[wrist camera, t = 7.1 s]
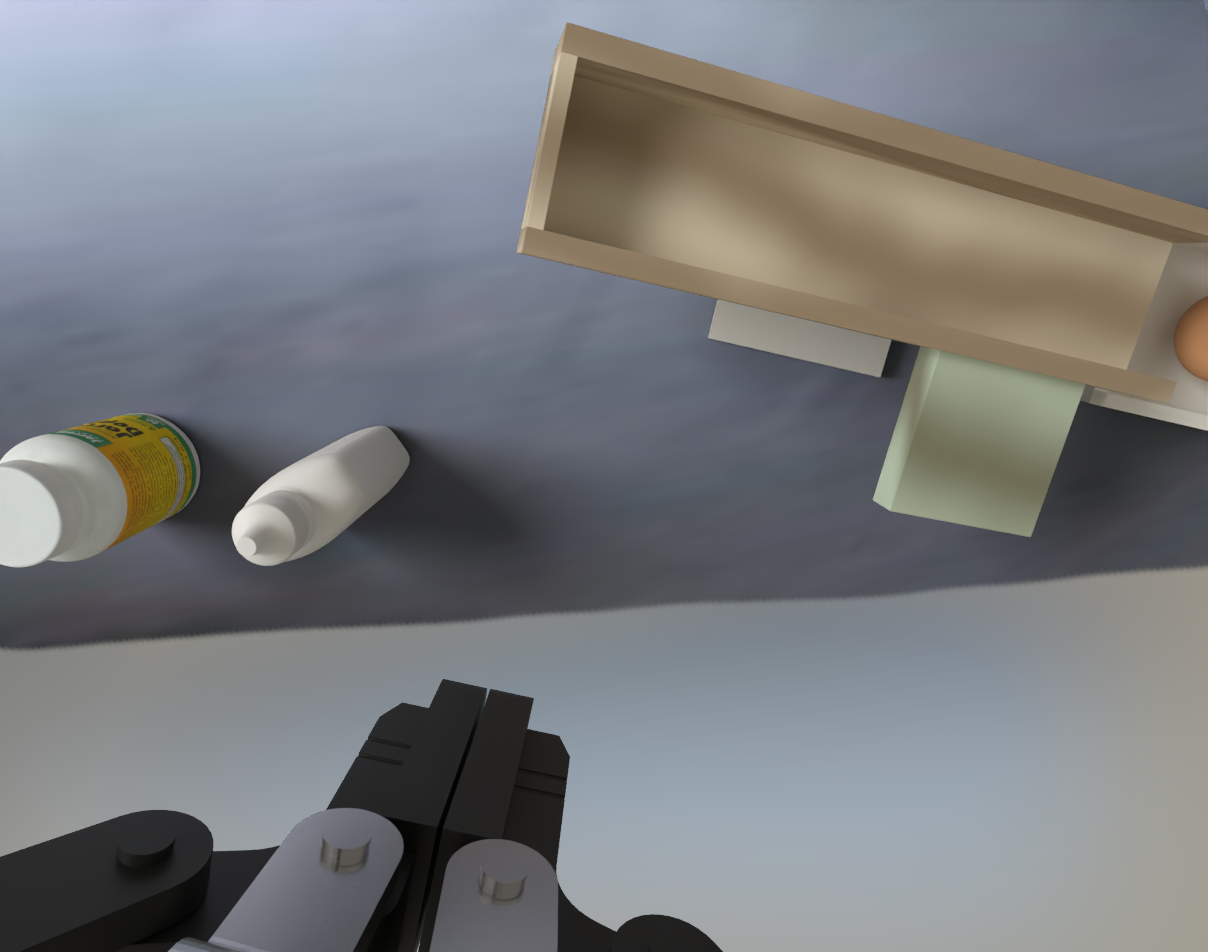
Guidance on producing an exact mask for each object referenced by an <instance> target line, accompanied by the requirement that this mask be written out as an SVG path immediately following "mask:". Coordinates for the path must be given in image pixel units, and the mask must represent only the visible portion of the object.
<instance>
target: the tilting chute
mask: <svg viewBox="0 0 1208 952" xmlns="http://www.w3.org/2000/svg"><path fill="white" fill-rule="evenodd" d="M1173 243H1208V210H1207V209H1204V208H1200V207H1197V206H1194V205H1190V204H1187V203H1183V202H1180V201H1176V200H1173V199H1170V198H1166V197H1163V196H1159V195H1156V194H1152V193H1149V192H1146V191H1142V190H1139V189H1135V188H1132V187H1129V186H1125V185H1122V184H1118V183H1115V182H1111V181H1108V180H1105V179H1101V178H1098V177H1094V176H1091V175H1087V174H1084V173H1081V172H1077V171H1074V170H1070V169H1067V168H1064V167H1060V166H1057V165H1053V164H1050V163H1046V162H1043V161H1040V160H1036V159H1033V158H1029V157H1026V156H1022V155H1019V154H1016V153H1012V152H1009V151H1005V150H1002V149H998V148H995V147H992V146H988V145H985V144H981V143H978V142H975V141H971V140H968V139H964V138H961V137H957V136H954V135H951V134H947V133H944V132H940V131H937V130H933V129H930V128H927V127H923V126H920V125H916V124H913V123H910V122H906V121H903V120H899V119H896V118H892V117H889V116H886V115H882V114H879V113H875V112H872V111H868V110H865V109H862V108H858V107H855V106H851V105H848V104H845V103H841V102H838V101H834V100H831V99H827V98H824V97H821V96H817V95H814V94H810V93H807V92H803V91H800V90H797V89H793V88H790V87H786V86H783V85H780V84H776V83H773V82H769V81H766V80H762V79H759V78H756V77H752V76H749V75H745V74H742V73H738V72H735V71H732V70H728V69H725V68H721V67H718V66H715V65H711V64H708V63H704V62H701V61H697V60H694V59H691V58H687V57H684V56H680V55H677V54H673V53H670V52H667V51H663V50H660V49H656V48H653V47H650V46H646V45H643V44H639V43H636V42H632V41H629V40H626V39H622V38H619V37H615V36H612V35H608V34H605V33H602V32H598V31H595V30H591V29H588V28H585V27H581V26H578V25H574V24H571V23H566V26H565V28H564V31H563V33H562V36H561V38H560V41H559V43H558V46H557V48H556V51H555V56H554V61H553V67H552V72H551V77H550V82H549V87H548V93H547V98H546V103H545V108H544V113H543V118H542V124H541V129H540V134H539V139H538V144H537V150H536V155H535V160H534V165H533V170H532V175H531V181H530V186H529V191H528V196H527V201H526V206H525V212H524V217H523V222H522V227H521V232H520V238H519V243H518V248H517V253H521V254H525V255H529V256H533V257H538V258H542V259H546V260H551V261H555V262H559V263H564V264H568V265H572V266H576V267H581V268H585V269H589V270H594V271H598V272H602V273H607V274H611V275H615V276H619V277H624V278H628V279H632V280H637V281H641V282H645V283H650V284H654V285H658V286H663V287H667V288H671V289H675V290H680V291H684V292H688V293H693V294H697V295H701V296H706V297H710V298H714V299H718V300H723V301H727V302H731V303H736V304H740V305H744V306H749V307H753V308H757V309H761V310H766V311H770V312H774V313H779V314H783V315H787V316H792V317H796V318H800V319H804V320H809V321H813V322H817V323H822V324H826V325H830V326H835V327H839V328H843V329H847V330H852V331H856V332H860V333H865V334H869V335H873V336H878V337H882V338H886V339H890V340H895V341H899V342H903V343H908V344H912V345H916V346H920V349H919V352H918V356H917V359H916V362H915V365H914V368H913V372H912V375H911V378H910V381H909V385H908V388H907V391H906V394H905V397H904V401H903V404H902V407H901V410H900V414H899V417H898V420H897V423H896V427H895V430H894V433H893V436H892V439H891V443H890V446H889V449H888V452H887V456H886V459H885V462H884V465H883V468H882V472H881V475H880V478H879V481H878V485H877V488H876V491H875V494H874V498H873V500H874V501H875V502H877V503H878V504H880V505H882V506H883V507H885V508H886V509H888V510H890V511H893V512H899V513H904V514H909V515H915V516H920V517H925V518H931V519H936V520H941V521H947V522H952V523H958V524H963V525H968V526H974V527H979V528H984V529H990V530H995V531H1000V532H1006V533H1011V534H1017V535H1022V536H1027V537H1031V535H1032V532H1033V530H1034V527H1035V524H1036V521H1037V518H1038V516H1039V513H1040V510H1041V507H1042V505H1043V502H1044V499H1045V496H1046V493H1047V491H1048V488H1049V485H1050V482H1051V479H1052V477H1053V474H1054V471H1055V468H1056V466H1057V463H1058V460H1059V457H1060V454H1061V452H1062V449H1063V446H1064V443H1065V441H1066V438H1067V435H1068V432H1069V429H1070V427H1071V424H1072V421H1073V418H1074V415H1075V413H1076V410H1077V407H1078V404H1079V402H1080V399H1081V396H1082V393H1083V390H1084V388H1085V385H1088V386H1093V387H1097V388H1101V389H1106V390H1110V391H1115V392H1120V393H1124V394H1129V395H1133V396H1138V397H1142V398H1147V399H1151V400H1156V401H1160V402H1165V403H1169V402H1170V399H1171V397H1172V394H1173V392H1174V389H1175V386H1176V384H1177V382H1175V381H1171V380H1167V379H1163V378H1158V377H1154V376H1150V375H1146V374H1142V373H1138V372H1133V371H1129V370H1126V369H1127V367H1128V364H1129V361H1130V359H1131V356H1132V353H1133V350H1134V348H1135V345H1136V342H1137V340H1138V337H1139V334H1140V331H1141V329H1142V326H1143V323H1144V321H1145V318H1146V315H1147V313H1148V310H1149V307H1150V304H1151V302H1152V299H1153V296H1154V294H1155V291H1156V288H1157V285H1158V283H1159V280H1160V277H1161V275H1162V272H1163V269H1164V266H1165V264H1166V261H1167V258H1168V256H1169V253H1170V250H1171V248H1172V245H1173Z"/></svg>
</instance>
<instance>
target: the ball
mask: <svg viewBox="0 0 1208 952" xmlns="http://www.w3.org/2000/svg"><path fill="white" fill-rule="evenodd" d="M1174 349H1175V353H1176V356H1177V358H1178V360H1179V361H1180V363H1181V364H1182V365H1183V367H1184V368H1185V369H1186V370H1187V371H1188V372H1190V373H1191V374H1193V375H1194V376H1196V377H1198V378H1199V379H1202V380H1204V381H1208V296H1206V297H1204V298H1202V299H1201V300H1199V301H1197V302H1196V303H1195V304H1193V305H1192V306H1191V307H1190V308H1189V309H1188V310H1187V311H1186V312H1185V313H1184V315H1183V316H1182V317H1181V319H1180V320H1179V322H1178V325H1177V327H1176V330H1175V334H1174Z"/></svg>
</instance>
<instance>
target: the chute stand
mask: <svg viewBox="0 0 1208 952" xmlns="http://www.w3.org/2000/svg"><path fill="white" fill-rule="evenodd" d="M708 338H710V339H715V340H719V341H723V342H728V343H732V344H736V345H741V346H745V347H749V348H754V349H758V350H762V351H767V352H771V353H776V354H780V355H784V356H789V357H793V358H797V359H802V360H806V361H810V362H815V363H819V364H823V365H828V366H832V367H837V368H841V369H845V370H850V371H854V372H858V373H863V374H867V375H871V376H876V377H881V373H882V370H883V367H884V363H885V360H886V357H887V353H888V350H889V347H890V343H891V340H890V339H886V338H882V337H878V336H873V335H869V334H865V333H860V332H856V331H852V330H847V329H843V328H839V327H835V326H830V325H826V324H822V323H817V322H813V321H809V320H804V319H800V318H796V317H792V316H787V315H783V314H779V313H774V312H770V311H766V310H761V309H757V308H753V307H749V306H744V305H740V304H736V303H731V302H727V301H723V300H718V299H717V303H716V307H715V311H714V315H713V319H712V323H711V327H710V331H709V335H708Z"/></svg>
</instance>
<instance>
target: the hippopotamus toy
mask: <svg viewBox="0 0 1208 952" xmlns="http://www.w3.org/2000/svg"><path fill="white" fill-rule="evenodd" d="M1203 1H1204V7H1205V10H1206V12H1207V14H1208V0H1203Z"/></svg>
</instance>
